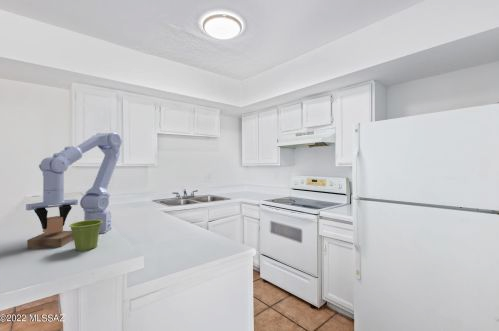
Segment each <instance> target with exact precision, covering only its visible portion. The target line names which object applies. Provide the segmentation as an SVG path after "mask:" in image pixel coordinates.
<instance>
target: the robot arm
mask: <svg viewBox="0 0 499 331" xmlns="http://www.w3.org/2000/svg"><path fill="white" fill-rule="evenodd" d="M122 143H123V141H122V139H121V136H120V134H119V133H118V132H103V133H101V132H99V133H96V134H93V135H92V136H90V138H88V139H87V140H85V141H83V142H82V143H80V144H78V145H77V146H74V145H71V146H69V145H68V146H65V147H64V149H63V150H62V151H60V152H55V153H53V156H47V157H45V158H43V159H42V160H41V161H40V164H39V165H38V168H39V170H40V171H41V172H42V176H43V177H42V178H43V179H42V182H43V188H42V190H43V192H42V196H43V197H42V202H36V203H27V204H26V205H25V210H26V211H34V213H35V214H36V216H37V217H38V219H39V221H40V225H41V228H42V230H43V229H47V217H48V213H49V211H48V209H49V208H50V209H52V208H58V211H59V216H60V217H63V227H64V226H65V225H66V224H65V223H66V220H67V217H68V215H69V213H70V212H71V210H72V207H73V206H77V205H78V204H79V205H80V207H81V209H83V214H84V220H83V221H87V220H101V221H102V223H101V227H100V229H99V234H103V233H104V234H105V233H107V232H108V231H110V230H111V229H112V212H111V210H109V209H107V208H108V206H109V204H110V200H109V198H110V194H109V192H108V191H107V190H108V187H109V184H110V181H111V180H112V177H113V174H114V170H115V168H116V166H117V162H118V160H119V158H120V152H121V151H120V150H121V145H122ZM95 147H97V148H98V149H100V151H101V152H102V153H103V154H104V157H103V159H102V162H101V164H100V167H99V169H98V171H97V174H96V176H95V180H94V182H93V185H92V187H90V188H89V189H88V190H87V191H86V192H85V194H84V195H83V196H82V197H81V199H80V202H79V200H78V199H65V200H64V198H65V193H64V190H65V189H64V188H65V184H64V183H65V182H64V181H65V179H64V177H65V172H67V170H68V168H69V166H71V165H72V164H74V163H76V162H77V161H79V160H81V159H82V157H83V154H84V153H87V152H88V151H90V150H92V149H95Z"/></svg>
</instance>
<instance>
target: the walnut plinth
mask: <svg viewBox="0 0 499 331" xmlns="http://www.w3.org/2000/svg"><path fill="white" fill-rule="evenodd" d="M72 241H74V237H73V232H72V230H63V231H60V232H54V233H49V234H47V233H44V232H42V233H41V234H38V235H37V236H34V237H31V238H30V239H27V244H26V246H27V248H26V249H27V250H31V249H47V248H62V247H63V246H65V245H67V244H68V243H71V242H72Z"/></svg>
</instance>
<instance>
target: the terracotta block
mask: <svg viewBox="0 0 499 331" xmlns="http://www.w3.org/2000/svg"><path fill="white" fill-rule="evenodd" d="M60 231H64V226H63V217H60V215H56V216H47V229H42V233H47V234H49V233H54V232H60Z"/></svg>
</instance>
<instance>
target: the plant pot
mask: <svg viewBox="0 0 499 331" xmlns="http://www.w3.org/2000/svg"><path fill="white" fill-rule="evenodd" d="M101 223H102V221H101V220H87V221H84V220H82V221H77V222H76V221H75V222H71V223H69V227H70V231H72V232H73V237H74V240H73V241H74V242H73V243H74V248H75V251H80V252H84V251H89V250H92V249H95V248H97V247H98V242H99V234H100V233H99V229H100V227H101Z"/></svg>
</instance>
